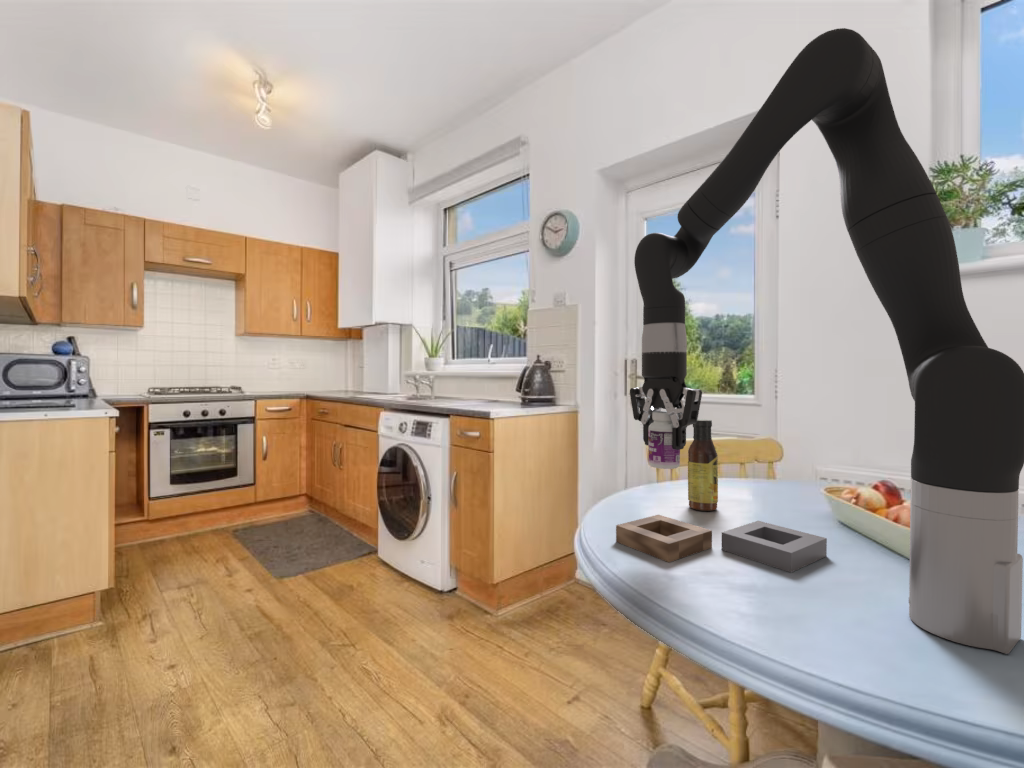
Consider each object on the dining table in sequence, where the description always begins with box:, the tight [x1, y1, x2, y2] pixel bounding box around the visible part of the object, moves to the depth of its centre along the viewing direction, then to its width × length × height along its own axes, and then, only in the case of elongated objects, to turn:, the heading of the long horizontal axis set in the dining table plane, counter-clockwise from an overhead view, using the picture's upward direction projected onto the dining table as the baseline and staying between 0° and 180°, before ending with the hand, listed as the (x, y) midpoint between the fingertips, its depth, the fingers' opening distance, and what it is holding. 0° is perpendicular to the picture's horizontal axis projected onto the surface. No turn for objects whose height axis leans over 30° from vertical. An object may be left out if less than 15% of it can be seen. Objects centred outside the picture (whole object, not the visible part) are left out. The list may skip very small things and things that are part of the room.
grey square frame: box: [721, 520, 828, 573], centre depth 81 cm, size 12×12×3 cm
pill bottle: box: [647, 410, 681, 470], centre depth 84 cm, size 5×5×10 cm
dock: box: [615, 514, 713, 563], centre depth 85 cm, size 12×12×3 cm
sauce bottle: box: [687, 418, 719, 512], centre depth 108 cm, size 6×6×20 cm
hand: (663, 446), depth 85 cm, fingers closed on pill bottle, 5 cm apart
